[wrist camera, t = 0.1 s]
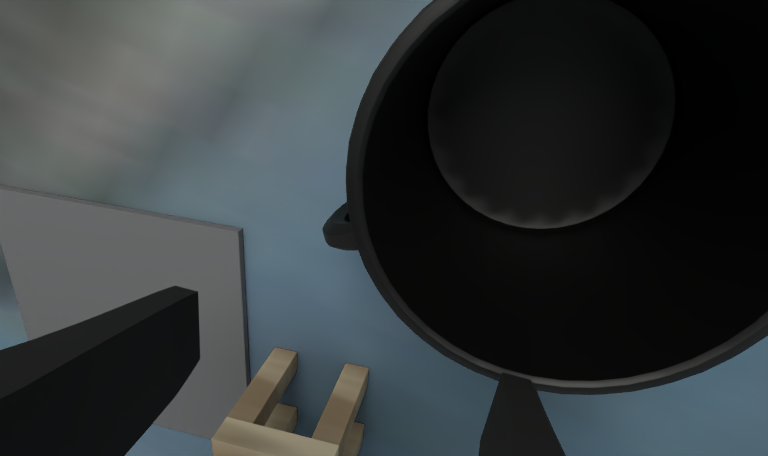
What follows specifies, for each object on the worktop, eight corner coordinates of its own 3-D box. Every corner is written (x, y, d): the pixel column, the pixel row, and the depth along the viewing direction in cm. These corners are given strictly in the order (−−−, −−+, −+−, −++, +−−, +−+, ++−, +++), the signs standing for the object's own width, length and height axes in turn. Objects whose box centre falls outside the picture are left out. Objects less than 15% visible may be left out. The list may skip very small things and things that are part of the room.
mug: (316, 71, 19) (172, 116, 11) (654, -87, 14) (846, -218, 6) (408, 277, 21) (349, 437, 13) (715, 194, 17) (903, 355, 9)
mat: (253, 444, 28) (250, 449, 28) (50, 390, 31) (44, 395, 30) (242, 228, 22) (238, 231, 22) (-9, 183, 25) (-16, 186, 24)
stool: (362, 440, 26) (325, 550, 21) (276, 418, 27) (219, 519, 21) (368, 368, 24) (329, 470, 18) (275, 347, 25) (211, 438, 19)
